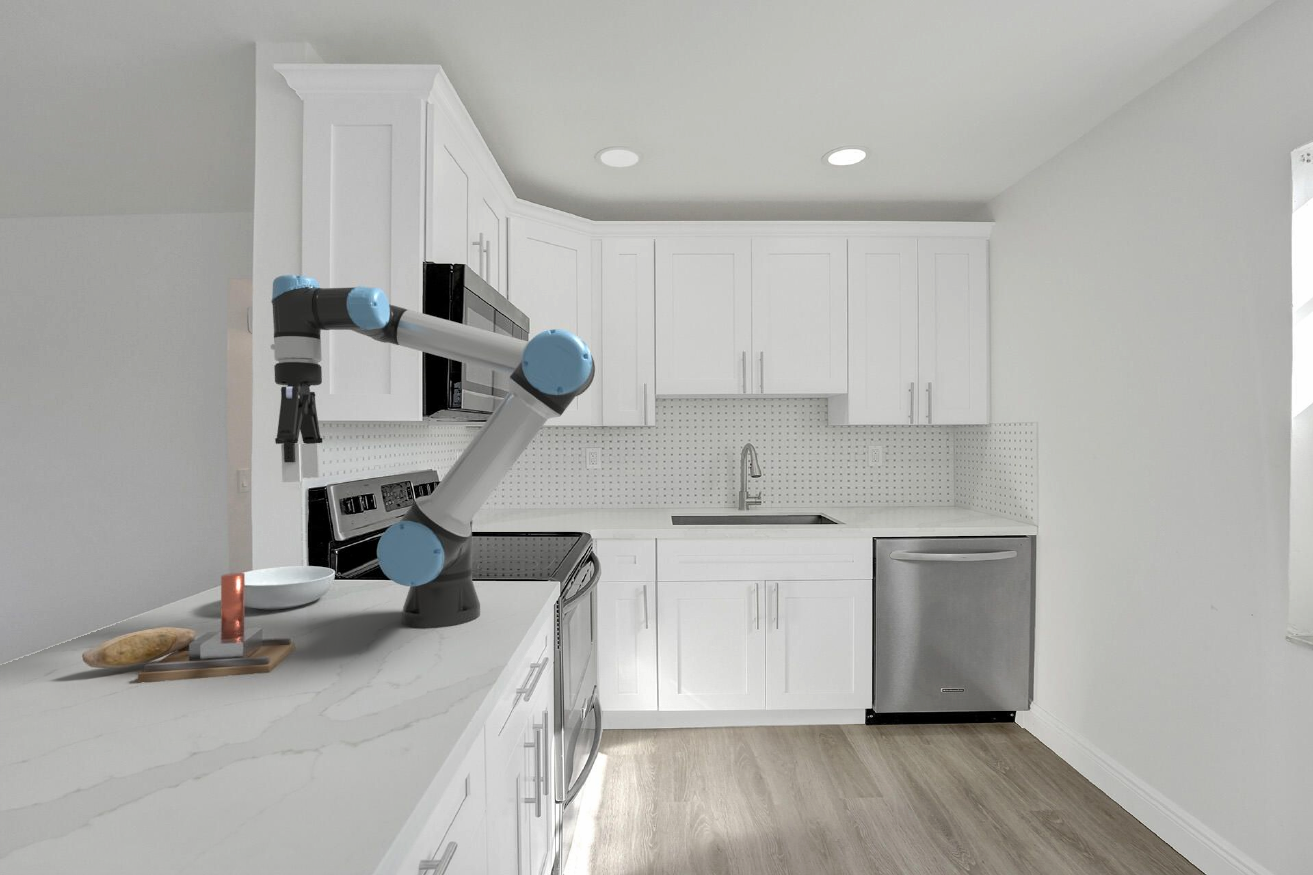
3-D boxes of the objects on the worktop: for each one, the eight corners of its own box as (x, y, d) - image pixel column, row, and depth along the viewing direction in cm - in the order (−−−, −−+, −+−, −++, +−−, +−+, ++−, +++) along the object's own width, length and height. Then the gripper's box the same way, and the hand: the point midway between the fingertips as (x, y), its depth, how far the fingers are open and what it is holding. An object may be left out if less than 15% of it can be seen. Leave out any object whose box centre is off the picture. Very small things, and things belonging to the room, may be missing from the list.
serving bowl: (303, 618, 133) (303, 585, 133) (202, 618, 133) (202, 584, 133) (352, 594, 154) (352, 565, 154) (265, 593, 154) (265, 564, 154)
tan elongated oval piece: (192, 618, 107) (192, 619, 110) (78, 644, 98) (82, 644, 102) (197, 649, 106) (196, 649, 110) (83, 679, 98) (86, 678, 101)
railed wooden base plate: (295, 650, 113) (295, 636, 113) (269, 675, 101) (269, 659, 101) (178, 657, 109) (178, 642, 109) (138, 683, 97) (138, 667, 97)
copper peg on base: (262, 645, 110) (262, 569, 110) (243, 661, 102) (243, 579, 102) (209, 648, 108) (210, 571, 108) (185, 664, 101) (186, 581, 101)
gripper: (293, 370, 128) (296, 476, 128) (252, 353, 104) (256, 484, 104) (334, 370, 131) (337, 475, 131) (304, 354, 107) (308, 482, 107)
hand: (301, 479), depth 118 cm, fingers open, 13 cm apart
